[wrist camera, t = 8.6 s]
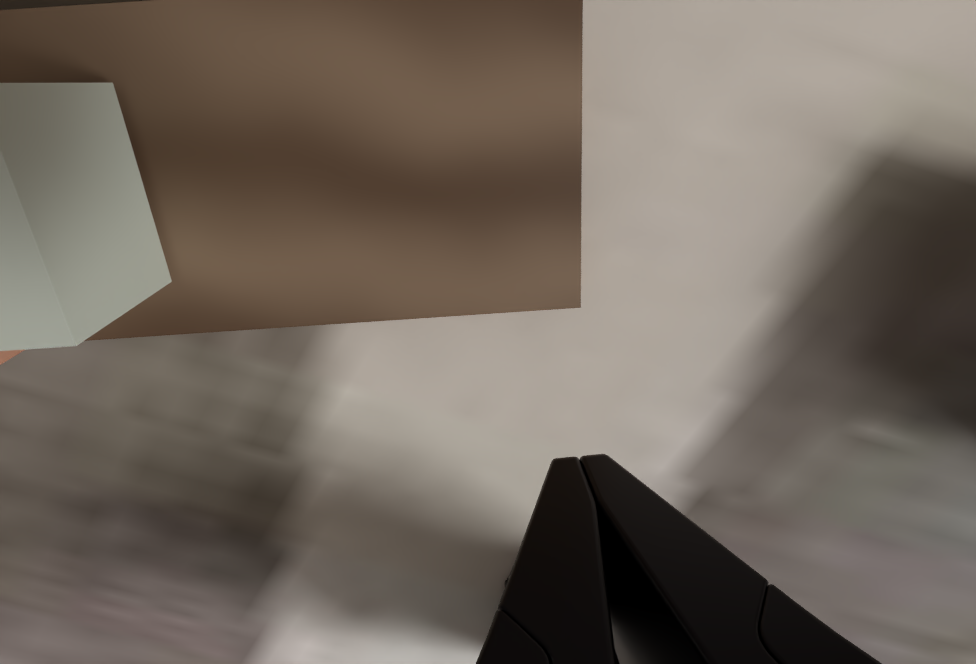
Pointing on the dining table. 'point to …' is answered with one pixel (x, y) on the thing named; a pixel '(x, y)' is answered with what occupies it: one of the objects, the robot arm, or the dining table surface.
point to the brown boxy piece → (336, 152)
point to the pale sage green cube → (70, 216)
